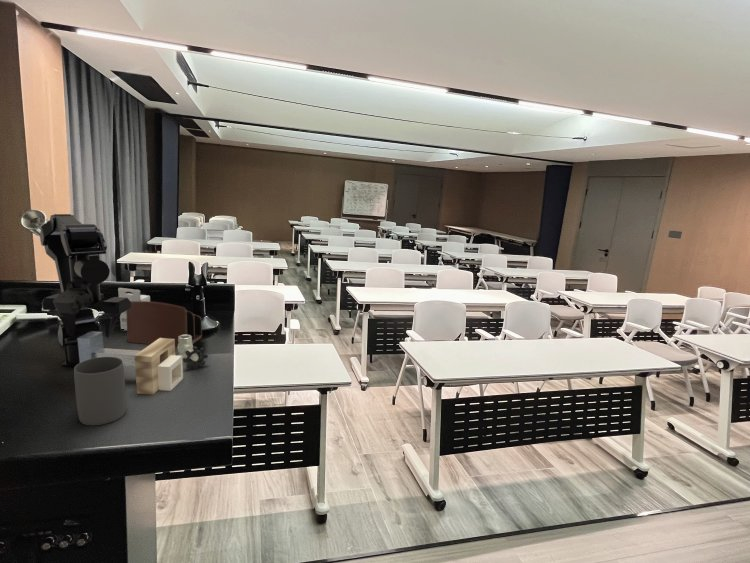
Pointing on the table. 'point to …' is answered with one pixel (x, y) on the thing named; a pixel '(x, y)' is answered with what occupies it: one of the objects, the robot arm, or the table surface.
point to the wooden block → (152, 364)
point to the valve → (190, 351)
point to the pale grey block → (102, 349)
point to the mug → (100, 390)
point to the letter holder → (161, 322)
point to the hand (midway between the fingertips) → (90, 336)
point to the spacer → (170, 372)
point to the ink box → (133, 298)
